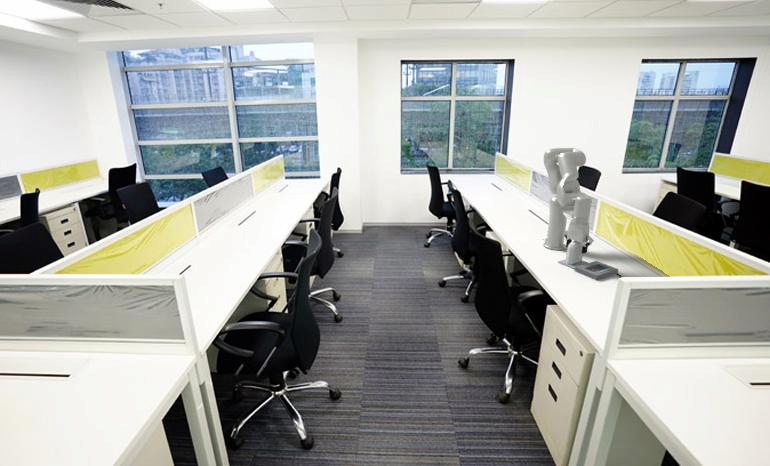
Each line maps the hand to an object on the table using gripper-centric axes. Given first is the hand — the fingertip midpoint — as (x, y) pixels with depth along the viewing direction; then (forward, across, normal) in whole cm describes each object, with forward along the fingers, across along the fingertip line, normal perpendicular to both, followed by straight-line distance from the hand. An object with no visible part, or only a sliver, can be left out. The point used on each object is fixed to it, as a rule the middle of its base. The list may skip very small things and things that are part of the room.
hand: (576, 250), depth 195 cm
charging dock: (+8, +13, 0) cm, 15 cm away
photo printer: (+7, 0, 0) cm, 8 cm away
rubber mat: (+8, 0, 0) cm, 8 cm away
